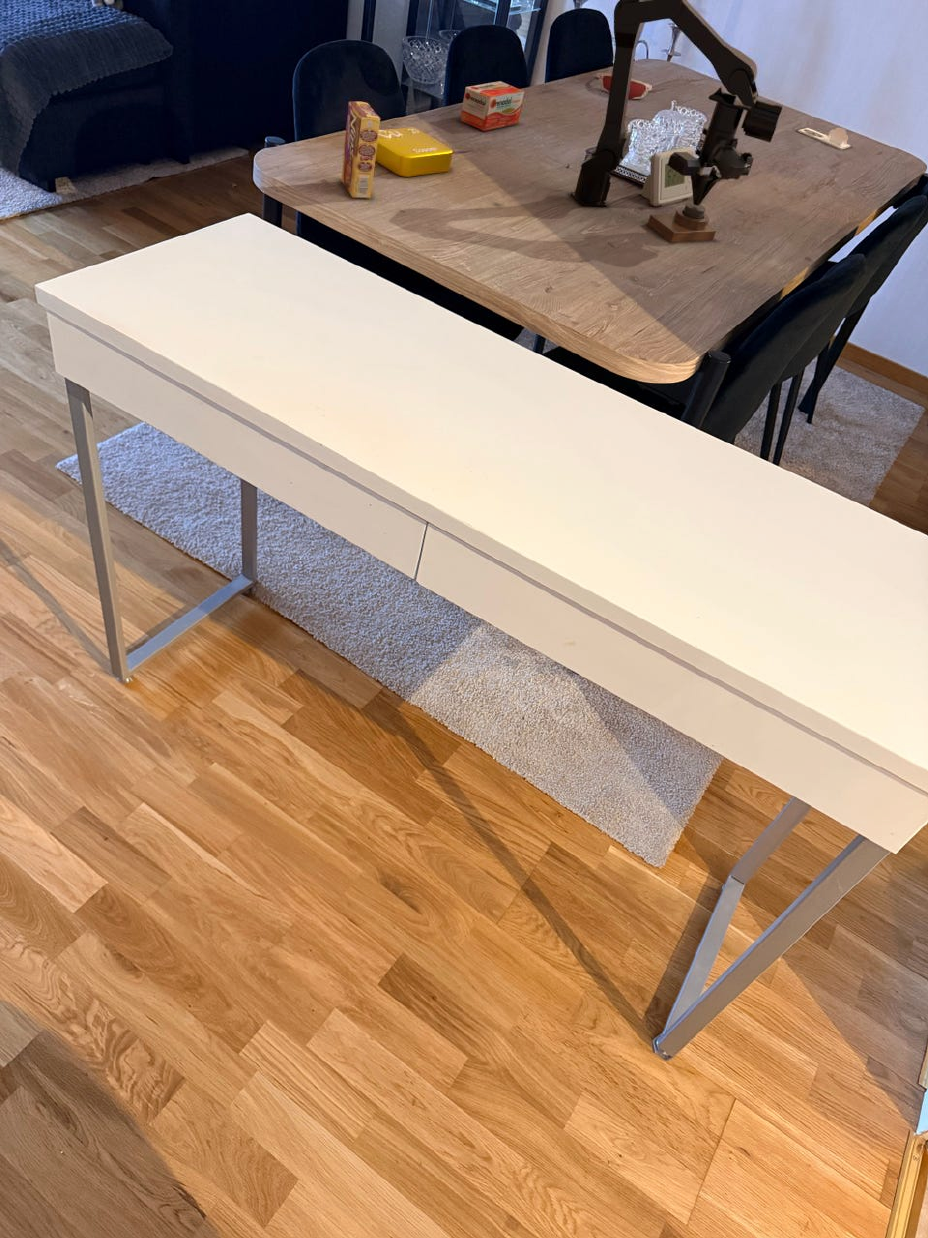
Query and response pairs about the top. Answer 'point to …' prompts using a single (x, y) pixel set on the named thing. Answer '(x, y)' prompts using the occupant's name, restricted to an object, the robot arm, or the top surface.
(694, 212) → the button
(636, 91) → the sunglasses
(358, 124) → the candy box
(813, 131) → the white stand
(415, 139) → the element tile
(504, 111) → the medicine box
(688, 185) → the digital clock
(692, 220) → the button box
